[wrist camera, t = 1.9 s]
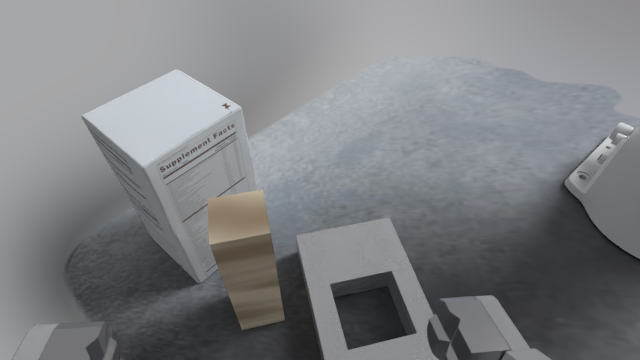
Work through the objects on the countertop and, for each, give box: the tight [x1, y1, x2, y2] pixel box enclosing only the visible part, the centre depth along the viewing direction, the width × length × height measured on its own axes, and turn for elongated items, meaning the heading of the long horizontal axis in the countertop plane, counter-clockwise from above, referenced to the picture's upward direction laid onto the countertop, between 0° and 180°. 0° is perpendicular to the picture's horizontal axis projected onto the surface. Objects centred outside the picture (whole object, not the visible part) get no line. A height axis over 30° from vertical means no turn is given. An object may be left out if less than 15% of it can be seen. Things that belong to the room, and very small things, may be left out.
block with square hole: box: [296, 217, 439, 360], centre depth 34 cm, size 18×10×3 cm, turn 13°
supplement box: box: [81, 69, 258, 283], centre depth 36 cm, size 10×9×17 cm
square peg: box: [207, 189, 285, 330], centre depth 31 cm, size 4×4×14 cm
